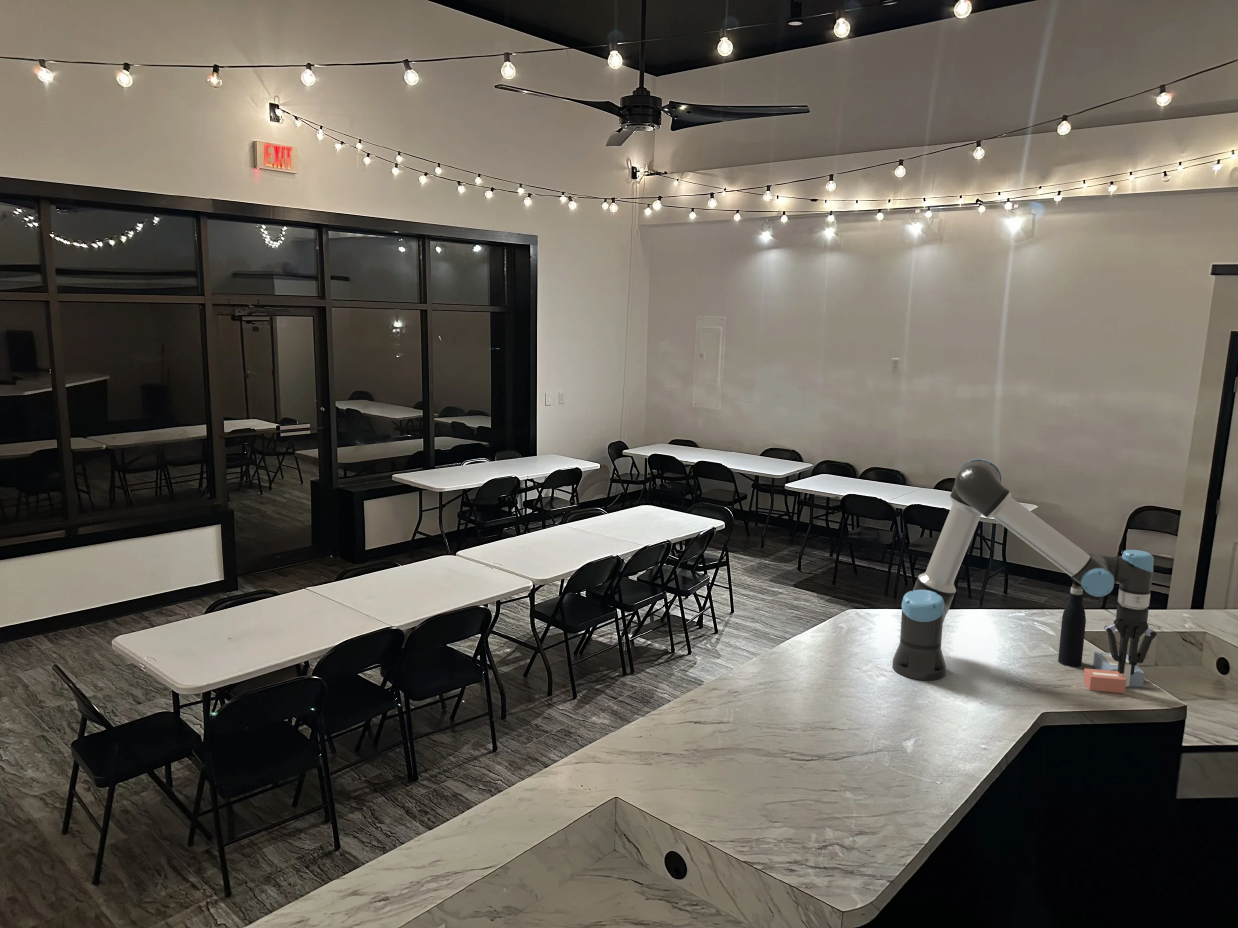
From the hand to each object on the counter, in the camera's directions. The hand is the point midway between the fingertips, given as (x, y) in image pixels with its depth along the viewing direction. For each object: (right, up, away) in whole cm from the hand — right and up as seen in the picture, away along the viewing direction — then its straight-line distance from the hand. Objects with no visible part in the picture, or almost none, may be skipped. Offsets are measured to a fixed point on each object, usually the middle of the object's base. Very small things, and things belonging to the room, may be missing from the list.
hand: (1124, 684), depth 235 cm
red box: (-5, -1, +1) cm, 5 cm away
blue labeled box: (+4, 0, +10) cm, 11 cm away
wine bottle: (-5, +1, +19) cm, 20 cm away
